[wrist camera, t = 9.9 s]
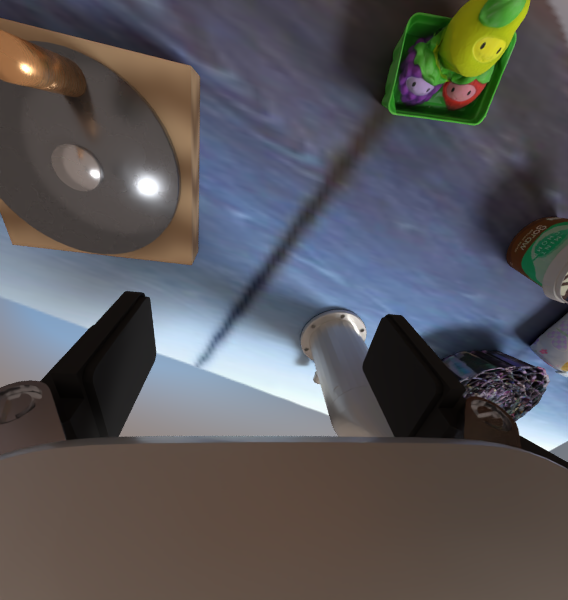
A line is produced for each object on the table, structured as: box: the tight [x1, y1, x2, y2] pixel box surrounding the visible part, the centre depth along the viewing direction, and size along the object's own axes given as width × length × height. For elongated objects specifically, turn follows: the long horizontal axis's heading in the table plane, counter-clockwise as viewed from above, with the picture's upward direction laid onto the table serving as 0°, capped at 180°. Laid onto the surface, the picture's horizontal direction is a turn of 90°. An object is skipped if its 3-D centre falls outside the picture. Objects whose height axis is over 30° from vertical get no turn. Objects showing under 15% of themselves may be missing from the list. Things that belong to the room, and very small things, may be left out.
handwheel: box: [0, 29, 181, 254], centre depth 23 cm, size 18×18×9 cm
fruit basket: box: [382, 0, 530, 125], centre depth 25 cm, size 11×9×11 cm
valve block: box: [0, 18, 200, 265], centre depth 29 cm, size 20×20×5 cm
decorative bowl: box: [442, 350, 550, 421], centre depth 58 cm, size 26×28×10 cm
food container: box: [507, 217, 568, 303], centre depth 39 cm, size 12×6×10 cm, turn 165°
